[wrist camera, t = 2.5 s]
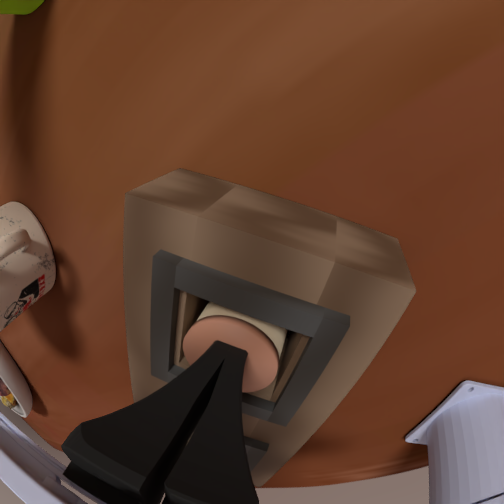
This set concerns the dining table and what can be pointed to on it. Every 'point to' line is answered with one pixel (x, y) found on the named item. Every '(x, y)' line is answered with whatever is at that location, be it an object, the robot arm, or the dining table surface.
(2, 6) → the soap dispenser
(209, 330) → the peg
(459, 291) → the dining table surface
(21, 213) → the teacup with lid
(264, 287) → the walnut block
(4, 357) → the bowl
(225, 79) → the dining table surface
